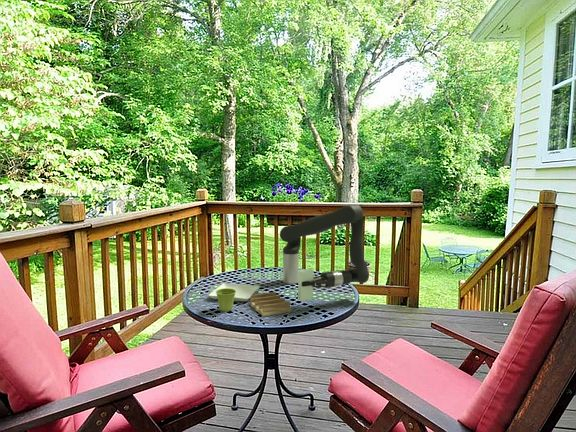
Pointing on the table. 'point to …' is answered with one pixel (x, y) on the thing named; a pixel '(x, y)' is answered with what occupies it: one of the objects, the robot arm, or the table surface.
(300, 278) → the pale green block
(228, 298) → the plant pot
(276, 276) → the table surface
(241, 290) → the salad plate
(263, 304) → the drying rack
